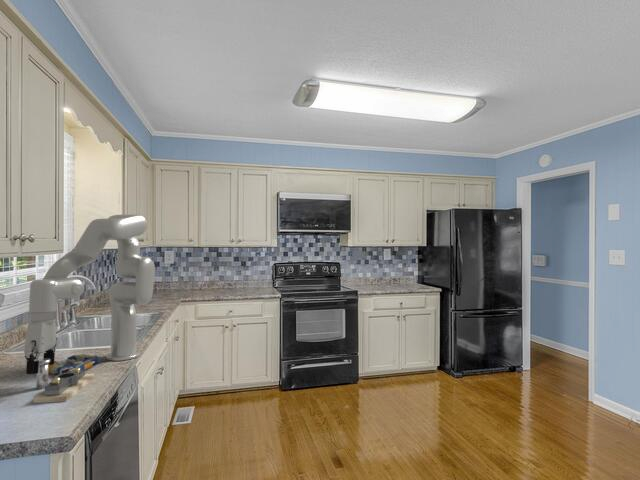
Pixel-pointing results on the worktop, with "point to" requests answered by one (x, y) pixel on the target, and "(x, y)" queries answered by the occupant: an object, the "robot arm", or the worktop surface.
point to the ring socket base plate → (64, 386)
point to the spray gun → (74, 364)
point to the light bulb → (42, 373)
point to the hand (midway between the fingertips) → (40, 368)
